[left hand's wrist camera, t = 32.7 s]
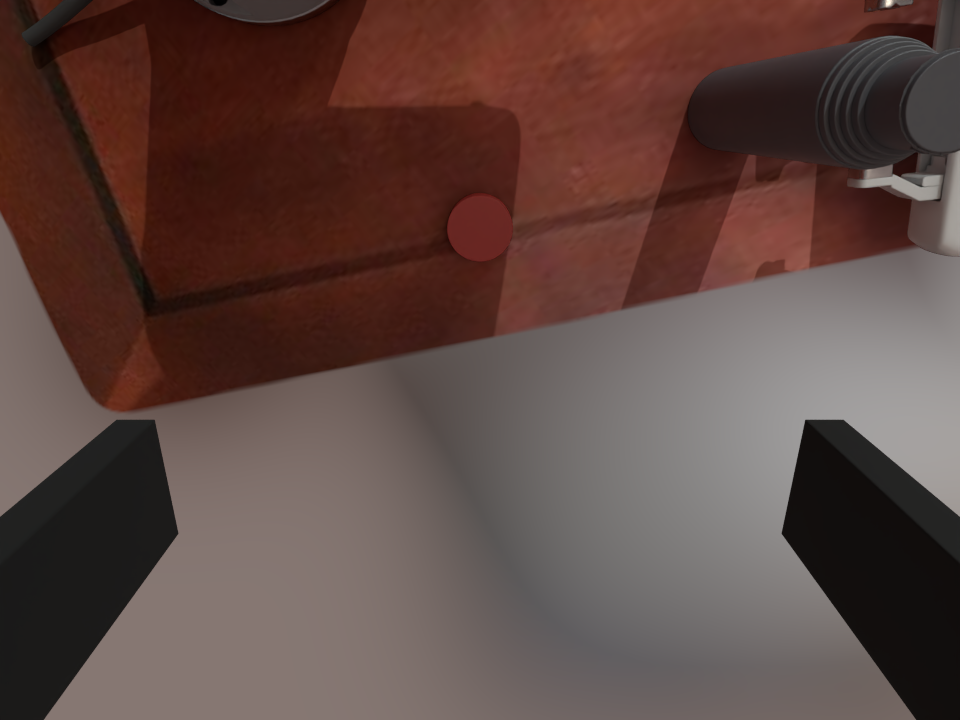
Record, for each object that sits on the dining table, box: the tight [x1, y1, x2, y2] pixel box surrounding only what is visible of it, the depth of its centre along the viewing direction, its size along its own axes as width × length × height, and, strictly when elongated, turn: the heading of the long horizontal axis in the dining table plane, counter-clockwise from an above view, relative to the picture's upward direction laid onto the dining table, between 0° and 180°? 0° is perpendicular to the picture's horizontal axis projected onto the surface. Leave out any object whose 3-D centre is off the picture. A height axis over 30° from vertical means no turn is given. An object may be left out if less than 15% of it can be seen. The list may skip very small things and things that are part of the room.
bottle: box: [688, 36, 960, 170], centre depth 32 cm, size 5×5×22 cm
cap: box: [447, 193, 513, 262], centre depth 44 cm, size 5×4×2 cm
